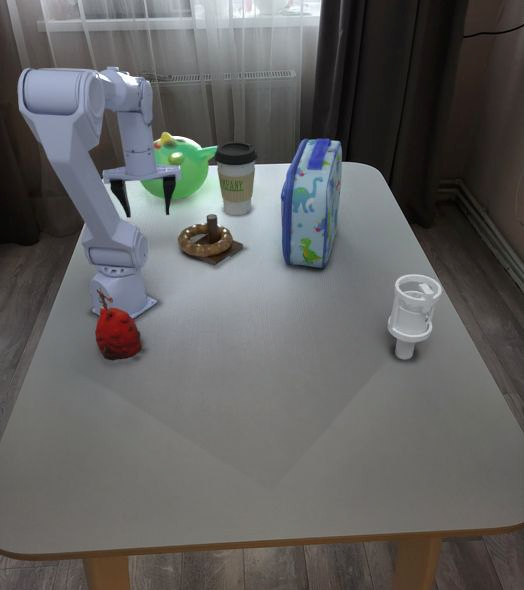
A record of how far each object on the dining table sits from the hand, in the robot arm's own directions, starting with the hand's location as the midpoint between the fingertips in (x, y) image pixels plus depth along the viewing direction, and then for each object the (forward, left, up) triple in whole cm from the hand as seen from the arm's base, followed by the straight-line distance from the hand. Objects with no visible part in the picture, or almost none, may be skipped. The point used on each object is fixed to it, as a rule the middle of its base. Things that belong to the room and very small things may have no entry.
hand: (148, 214), depth 112 cm
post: (+10, -8, -10) cm, 16 cm away
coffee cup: (+28, 0, -11) cm, 30 cm away
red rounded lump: (-25, -17, -11) cm, 32 cm away
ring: (+10, -6, -8) cm, 14 cm away
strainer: (+4, -56, -11) cm, 57 cm away
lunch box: (+25, -23, -11) cm, 36 cm away
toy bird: (+25, +17, -11) cm, 32 cm away
